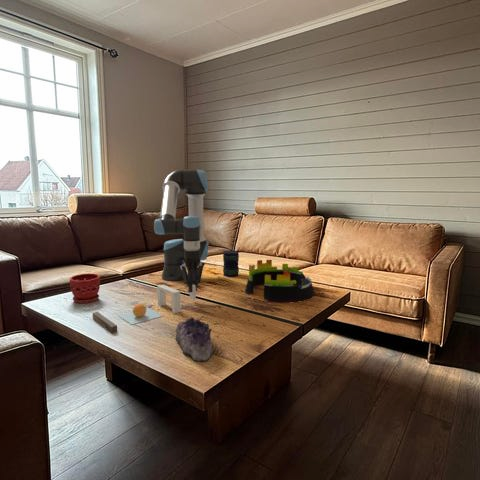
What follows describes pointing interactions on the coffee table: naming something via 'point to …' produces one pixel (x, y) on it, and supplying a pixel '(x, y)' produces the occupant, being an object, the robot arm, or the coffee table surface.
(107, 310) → the coffee table surface
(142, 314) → the ball
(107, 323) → the wall
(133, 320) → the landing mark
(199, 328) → the geode
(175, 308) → the bridge
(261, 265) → the curved castle wall
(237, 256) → the storage jar
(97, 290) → the plant pot
